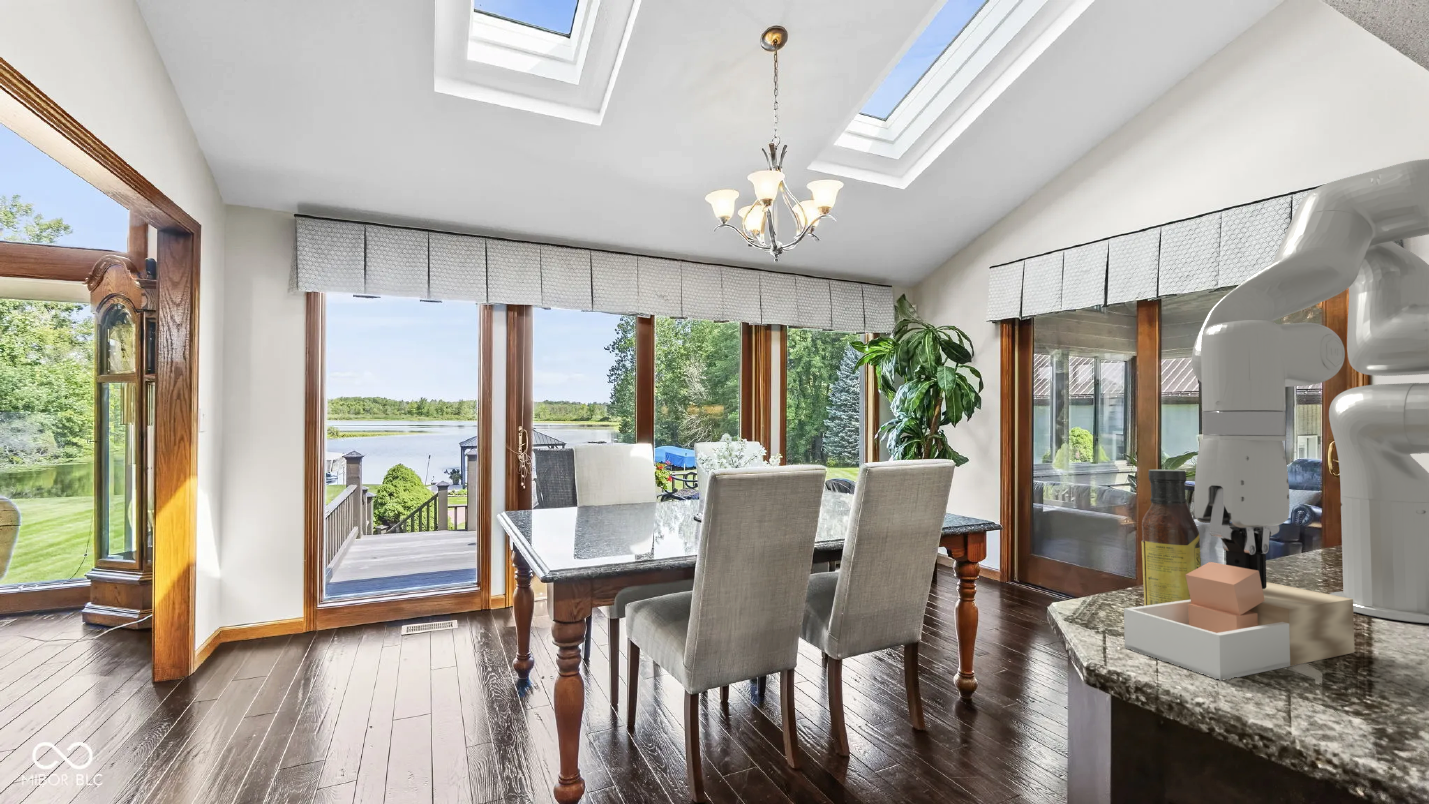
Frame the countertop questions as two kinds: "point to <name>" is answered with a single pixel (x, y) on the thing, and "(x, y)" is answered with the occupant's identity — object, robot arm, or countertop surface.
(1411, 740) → the countertop surface
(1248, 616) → the block
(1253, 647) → the box
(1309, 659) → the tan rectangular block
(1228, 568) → the block
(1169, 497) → the sauce bottle
